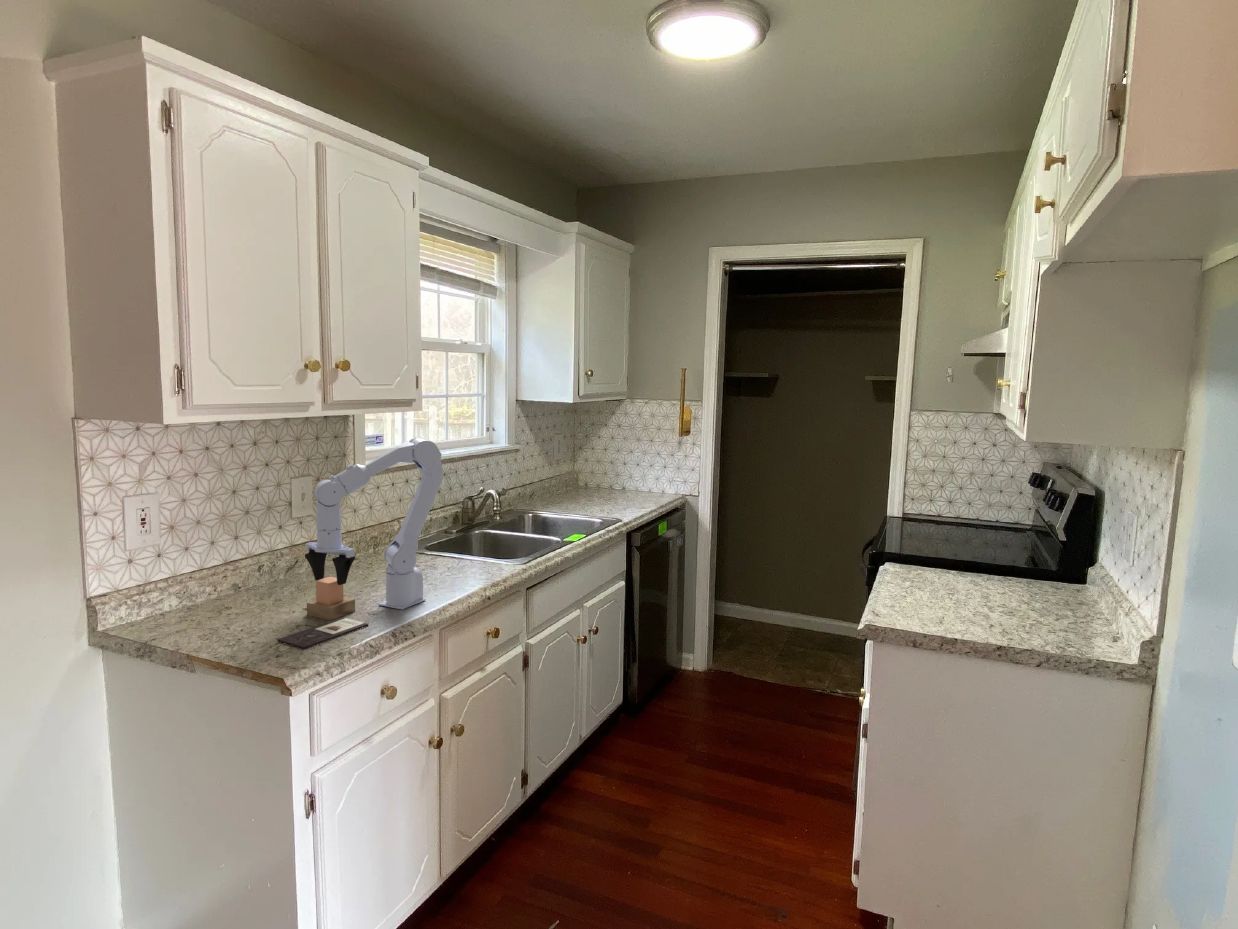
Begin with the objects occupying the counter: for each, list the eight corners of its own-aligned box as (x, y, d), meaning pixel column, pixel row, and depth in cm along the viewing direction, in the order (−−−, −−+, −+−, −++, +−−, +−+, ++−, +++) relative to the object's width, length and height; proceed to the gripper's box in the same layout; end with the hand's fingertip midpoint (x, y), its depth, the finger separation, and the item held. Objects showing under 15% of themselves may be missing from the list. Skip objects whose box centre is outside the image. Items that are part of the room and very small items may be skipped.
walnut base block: (331, 607, 190) (331, 594, 190) (355, 612, 187) (354, 599, 186) (307, 616, 183) (306, 602, 182) (330, 621, 179) (330, 607, 179)
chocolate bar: (277, 639, 164) (342, 617, 180) (277, 643, 165) (342, 621, 180) (303, 647, 160) (368, 624, 176) (304, 651, 160) (368, 627, 176)
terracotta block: (331, 597, 187) (330, 576, 186) (343, 600, 185) (343, 579, 184) (316, 602, 183) (315, 580, 182) (329, 605, 181) (328, 583, 180)
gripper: (294, 528, 181) (296, 581, 183) (338, 535, 175) (340, 590, 177) (317, 523, 188) (319, 575, 190) (360, 529, 182) (361, 582, 183)
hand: (330, 581), depth 184 cm, fingers open, 7 cm apart
